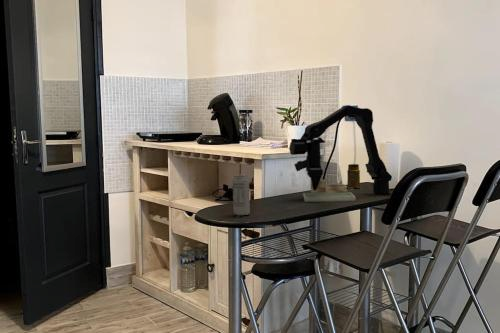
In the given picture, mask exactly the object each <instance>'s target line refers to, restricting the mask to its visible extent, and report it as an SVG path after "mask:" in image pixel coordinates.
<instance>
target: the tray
mask: <svg viewBox="0 0 500 333" xmlns="http://www.w3.org/2000/svg"><path fill="white" fill-rule="evenodd" d="M303 197H304V198H303V201H304V203H323V202H324V203H325V202H326V203H327V202H356V196H355V195H354V194H353V193H352V192H351V191H349V192H348V191H347V193H325V192H316V193H311V192H307V193H306V192H303Z"/></svg>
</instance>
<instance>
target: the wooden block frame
mask: <svg viewBox="0 0 500 333" xmlns="http://www.w3.org/2000/svg"><path fill="white" fill-rule="evenodd" d="M347 187H348V185H346V184H345V183H342V184H326V180H325V179H320V181H319V184H318V187H317V189H316V190H313V185H312V180H311V179H310V193H347V192H348V189H347Z"/></svg>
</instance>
